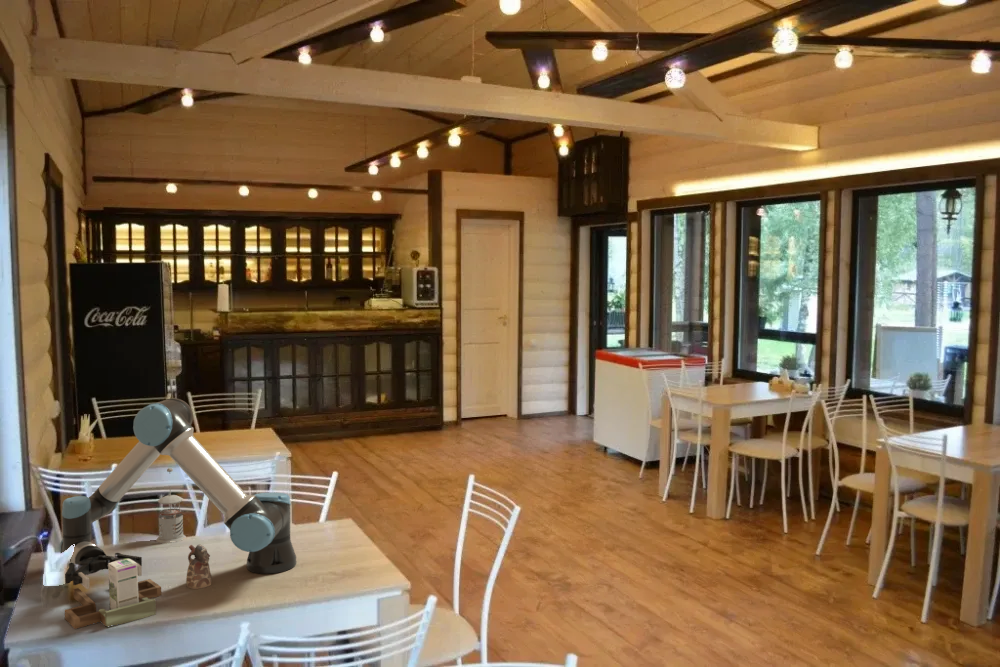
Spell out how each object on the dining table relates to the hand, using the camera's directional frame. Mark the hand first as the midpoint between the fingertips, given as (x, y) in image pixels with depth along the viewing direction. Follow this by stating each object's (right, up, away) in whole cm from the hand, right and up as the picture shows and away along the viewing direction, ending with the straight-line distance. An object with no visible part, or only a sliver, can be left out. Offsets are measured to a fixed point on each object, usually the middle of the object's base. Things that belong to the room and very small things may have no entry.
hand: (114, 577), depth 218 cm
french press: (-9, -5, +61) cm, 62 cm away
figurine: (+16, -8, +18) cm, 26 cm away
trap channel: (-2, -9, +3) cm, 9 cm away
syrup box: (+4, -9, -4) cm, 11 cm away
